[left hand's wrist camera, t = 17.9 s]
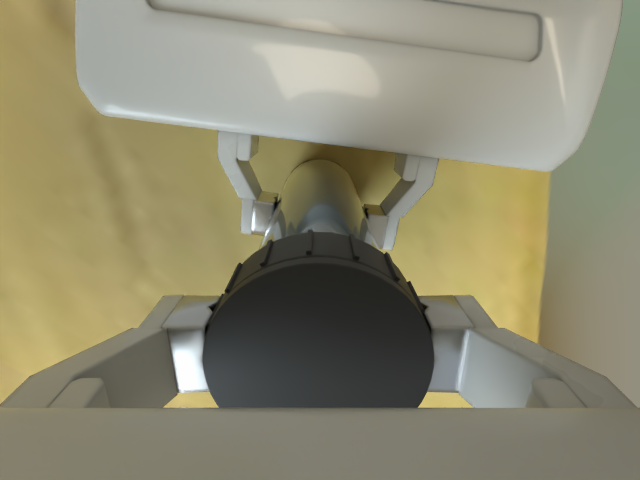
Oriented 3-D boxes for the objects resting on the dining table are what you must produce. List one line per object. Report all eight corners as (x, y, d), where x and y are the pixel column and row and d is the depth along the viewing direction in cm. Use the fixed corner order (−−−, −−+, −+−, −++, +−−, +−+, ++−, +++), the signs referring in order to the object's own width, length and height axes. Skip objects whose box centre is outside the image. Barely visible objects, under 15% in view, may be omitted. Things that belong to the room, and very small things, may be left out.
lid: (191, 350, 10) (164, 404, 9) (276, 191, 9) (265, 215, 7) (351, 420, 11) (357, 482, 9) (454, 287, 10) (485, 331, 8)
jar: (296, 148, 22) (254, 241, 8) (365, 173, 22) (444, 302, 8) (274, 215, 23) (205, 397, 9) (340, 237, 24) (369, 441, 10)
